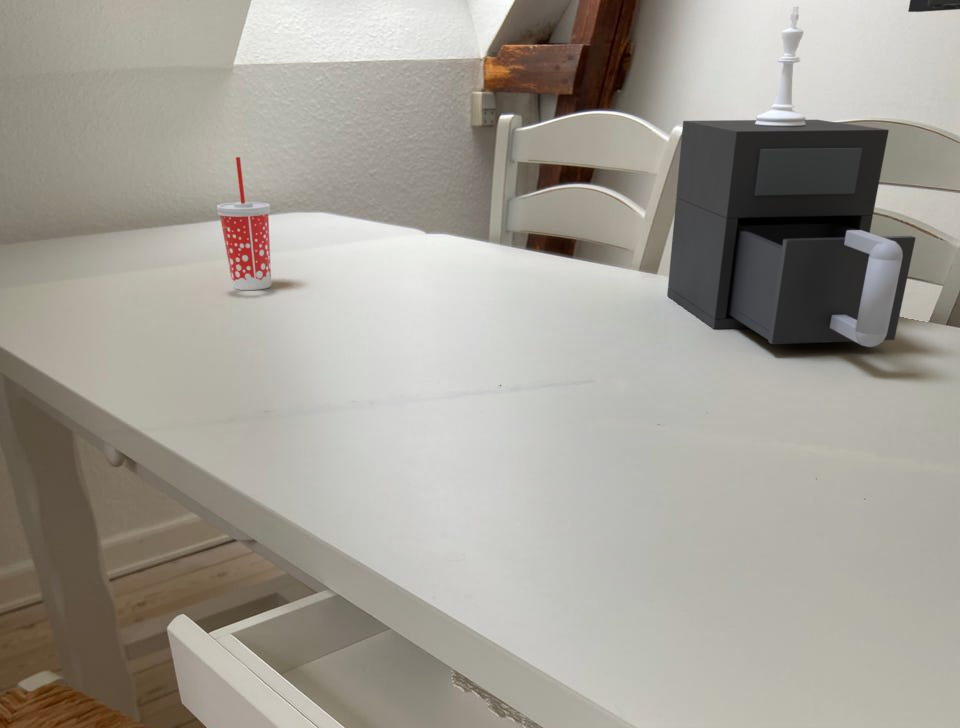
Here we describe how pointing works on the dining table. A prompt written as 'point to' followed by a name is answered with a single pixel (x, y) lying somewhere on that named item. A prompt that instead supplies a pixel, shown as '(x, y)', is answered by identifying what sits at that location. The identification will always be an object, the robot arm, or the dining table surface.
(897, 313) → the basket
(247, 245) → the beverage cup
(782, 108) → the chess piece
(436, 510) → the dining table surface
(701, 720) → the dining table surface
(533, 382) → the dining table surface
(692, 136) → the fryer
